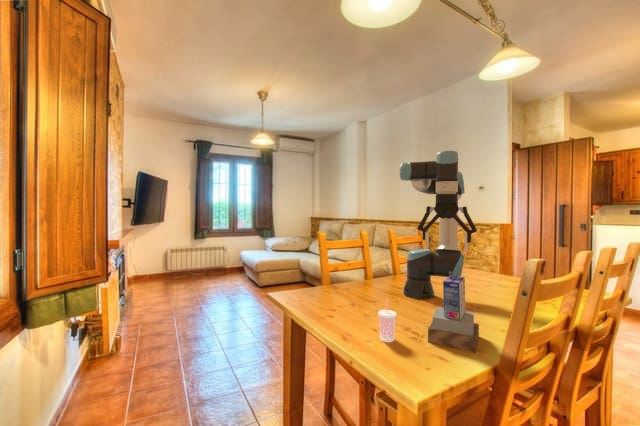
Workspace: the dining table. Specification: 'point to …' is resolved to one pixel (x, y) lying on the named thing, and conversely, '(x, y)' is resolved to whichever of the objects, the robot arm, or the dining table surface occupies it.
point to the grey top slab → (453, 323)
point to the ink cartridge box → (454, 297)
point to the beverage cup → (387, 324)
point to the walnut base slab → (454, 339)
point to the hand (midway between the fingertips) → (445, 250)
